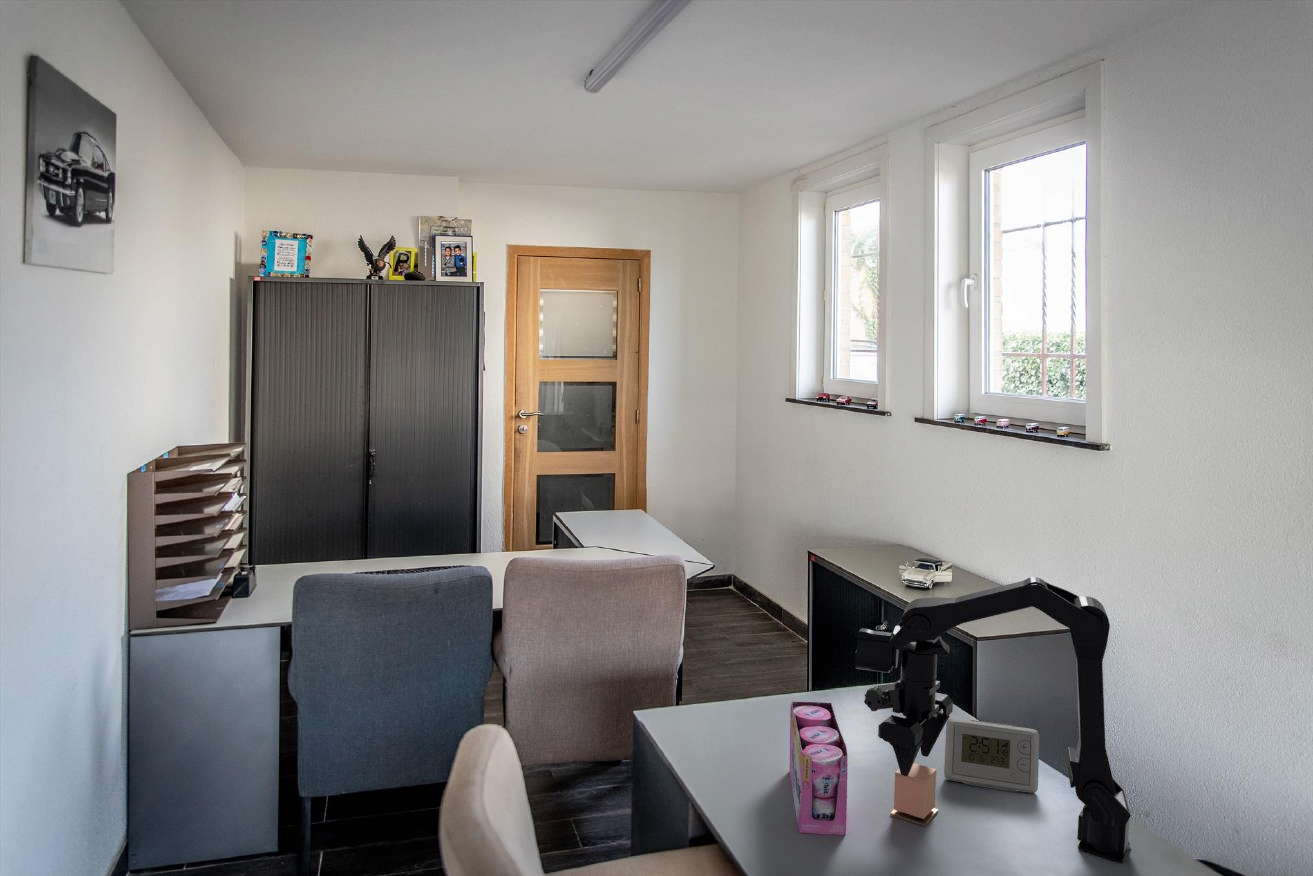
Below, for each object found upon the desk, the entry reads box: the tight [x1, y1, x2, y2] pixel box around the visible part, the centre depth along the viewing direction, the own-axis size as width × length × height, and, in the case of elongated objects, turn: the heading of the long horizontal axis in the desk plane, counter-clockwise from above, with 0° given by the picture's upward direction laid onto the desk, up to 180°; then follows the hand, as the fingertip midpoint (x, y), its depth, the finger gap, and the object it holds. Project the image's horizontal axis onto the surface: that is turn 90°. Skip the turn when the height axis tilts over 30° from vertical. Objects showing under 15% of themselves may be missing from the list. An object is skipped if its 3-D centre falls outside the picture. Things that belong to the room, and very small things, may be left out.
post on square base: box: [889, 807, 939, 828], centre depth 155 cm, size 6×6×7 cm
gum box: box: [789, 701, 849, 836], centre depth 159 cm, size 24×8×14 cm, turn 176°
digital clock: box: [943, 718, 1040, 794], centre depth 167 cm, size 16×9×11 cm, turn 59°
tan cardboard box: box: [893, 762, 937, 819], centre depth 155 cm, size 5×5×7 cm
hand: (914, 765), depth 155 cm, fingers open, 9 cm apart
